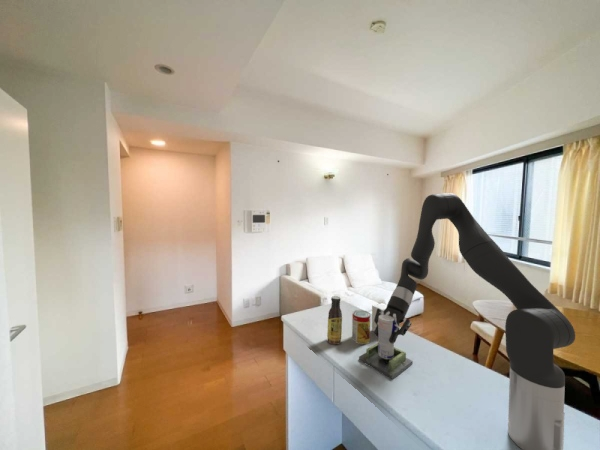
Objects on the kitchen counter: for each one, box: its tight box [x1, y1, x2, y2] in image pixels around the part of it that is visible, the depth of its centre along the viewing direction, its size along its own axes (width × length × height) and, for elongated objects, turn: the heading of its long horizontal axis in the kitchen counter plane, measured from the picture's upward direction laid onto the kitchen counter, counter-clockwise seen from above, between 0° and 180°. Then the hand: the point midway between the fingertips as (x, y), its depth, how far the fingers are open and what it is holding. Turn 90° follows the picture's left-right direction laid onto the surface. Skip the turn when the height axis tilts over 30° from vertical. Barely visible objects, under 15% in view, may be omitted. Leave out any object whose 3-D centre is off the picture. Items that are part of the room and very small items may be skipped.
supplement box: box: [371, 302, 387, 332], centre depth 111 cm, size 7×7×13 cm
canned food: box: [351, 309, 371, 345], centre depth 104 cm, size 8×8×12 cm
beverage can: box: [377, 315, 395, 359], centre depth 87 cm, size 6×6×15 cm
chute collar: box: [358, 342, 414, 380], centre depth 87 cm, size 14×14×4 cm
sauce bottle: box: [326, 295, 343, 345], centre depth 102 cm, size 7×6×20 cm
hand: (383, 338), depth 86 cm, fingers closed on beverage can, 5 cm apart
